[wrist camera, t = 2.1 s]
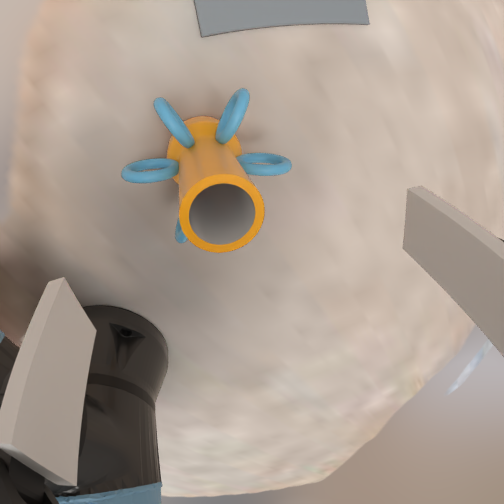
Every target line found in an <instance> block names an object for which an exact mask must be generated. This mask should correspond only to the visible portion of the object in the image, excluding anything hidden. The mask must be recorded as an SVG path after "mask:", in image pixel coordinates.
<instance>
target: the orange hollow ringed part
mask: <svg viewBox="0 0 504 504" xmlns="http://www.w3.org/2000/svg"><path fill="white" fill-rule="evenodd" d="M249 97H250V96H249V92H248V90H246V89H244V88H242V89H239V90H237V91H236V92H235V93H234V95H233V96H232V97H231V99H230V101H229V102H228V104H227V106H226V108H225V110H224V112H223V114H222V116H221V119H220V120H218V119H216V118H213V117H209V116H197V117H193V118H190V119H188V120H186V121H184V122H183V121H182V119H181V118H180V117H179V115H178V114H177V113H176V111H175V110H174V109H173V108H172V106H171V105H170V104H169V103H168V102H167V101H166V100H165V99H164V98H161V97H160V98H157V99H156V100H155V101H154V107H155V110H156V112H157V113H158V115H159V117H160V118H161V120H162V121H163V123H164V124H165V126H166V127H167V128H168V130H169V131H170V132H171V133H172V135H171V138H170V140H169V144H168V150H167V159H166V158H156V159H146V160H141V161H137V162H134V163H131V164H129V165H127V166H126V167H124V168H123V170H122V173H121V175H122V178H123V179H124V180H126V181H128V182H131V183H152V182H159V181H163V180H167V179H170V178H173V179H174V181H175V182H176V183H177V184H178V185H179V218H178V222H177V226H176V231H175V238H176V241H177V242H179V243H184V242H186V241H187V239H188V240H189V241H190V242H191V243H193V244H194V245H195V246H197V247H199V248H201V249H203V250H206V251H209V252H217V253H222V252H229V251H233V250H236V249H238V248H240V247H242V246H244V245H246V244H247V243H248V242H250V241H251V240H252V239H253V238H254V237H255V235H256V234H257V233H258V231H259V229H260V228H261V225H262V223H263V219H264V203H263V199H262V197H261V195H260V193H259V191H258V190H257V188H256V187H255V185H254V184H253V182H252V181H251V179H250V178H249V176H248V175H247V174H251V175H259V176H273V175H280V174H284V173H287V172H288V171H289V170H290V169H291V167H292V163H291V161H290V160H289V159H287V158H286V157H283V156H280V155H275V154H268V153H250V154H243V155H242V149H241V145H240V143H239V141H238V139H237V137H236V135H235V132H236V131H237V129H238V127H239V125H240V123H241V121H242V119H243V117H244V115H245V112H246V109H247V107H248V103H249ZM252 163H270V164H269V165H264V164H252ZM157 168H162V169H160V170H154V171H145V172H139V171H142V170H147V169H157Z"/></svg>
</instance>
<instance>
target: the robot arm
mask: <svg viewBox="0 0 504 504" xmlns="http://www.w3.org/2000/svg"><path fill="white" fill-rule="evenodd" d="M403 249H404V250H405V251H406V252H407V253H408V254H409V255H410V256H411V257H412V258H413V259H414V260H415V261H416V262H417V263H418V264H419V265H420V266H421V267H422V268H423V269H424V270H425V271H426V272H427V273H428V274H429V275H430V276H431V277H432V278H433V279H434V280H435V281H436V282H437V283H438V284H439V285H440V286H441V287H442V288H443V289H444V290H445V291H446V292H447V293H448V294H449V295H450V296H451V297H452V299H453V300H454V301H455V302H456V303H457V304H458V305H459V306H460V307H461V308H462V309H463V310H464V311H465V313H466V314H467V315H468V316H469V317H470V318H471V319H472V320H473V321H474V323H475V324H476V325H477V326H478V327H479V328H480V329H481V331H483V333H484V334H485V335H486V336H487V338H488V339H489V340H490V341H491V342H492V344H493V345H494V346H495V347H496V348H497V350H498V351H499V352H500V353H501V354H502V356H503V357H504V240H502V239H500V238H498V237H496V236H495V235H494V234H492V233H491V232H490V231H488V230H487V229H486V228H484V227H483V226H481V225H480V224H479V223H477V222H476V221H474V220H473V219H472V218H470V217H469V216H467V215H466V214H464V213H463V212H462V211H460V210H459V209H457V208H456V207H454V206H453V205H451V204H450V203H448V202H447V201H445V200H443V199H442V198H440V197H439V196H437V195H436V194H434V193H433V192H431V191H429V190H428V189H426V188H424V187H423V186H418V187H414V188H409V189H407V202H406V217H405V229H404V240H403ZM167 368H168V350H167V345H166V342H165V340H164V338H163V336H162V335H161V333H160V332H159V331H158V330H157V328H156V327H155V326H153V325H152V324H151V323H150V322H148V321H147V320H146V319H144V318H142V317H141V316H139V315H137V314H135V313H132V312H130V311H127V310H124V309H120V308H116V307H110V306H90V307H85V308H82V307H81V305H80V303H79V302H78V300H77V298H76V296H75V295H74V293H73V291H72V290H71V288H70V286H69V284H68V283H67V281H66V279H65V277H62V278H59V279H56V280H52V281H49V282H48V284H47V286H46V288H45V290H44V292H43V295H42V297H41V299H40V301H39V303H38V306H37V308H36V310H35V312H34V315H33V317H32V319H31V322H30V324H29V327H28V329H27V332H26V334H25V337H24V339H23V342H22V344H21V347H20V348H19V347H17V346H16V345H15V344H14V343H13V342H11V341H10V340H9V339H8V338H7V337H6V336H5V334H4V333H3V332H2V331H1V330H0V504H161V487H162V482H161V474H160V465H159V455H158V444H157V431H156V416H155V402H156V399H157V396H158V394H159V391H160V388H161V386H162V383H163V380H164V377H165V375H166V372H167Z"/></svg>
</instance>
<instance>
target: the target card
mask: <svg viewBox="0 0 504 504" xmlns="http://www.w3.org/2000/svg"><path fill="white" fill-rule="evenodd" d="M194 3H195V8H196V12H197V17H198V22H199V27H200V32H201V37H206V36H211V35H217V34H222V33H228V32H235V31H242V30H249V29H257V28H266V27H276V26H289V25H307V24H361V25H368V24H370V23H369V17H368V12H367V6H366V1H365V0H194Z"/></svg>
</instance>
